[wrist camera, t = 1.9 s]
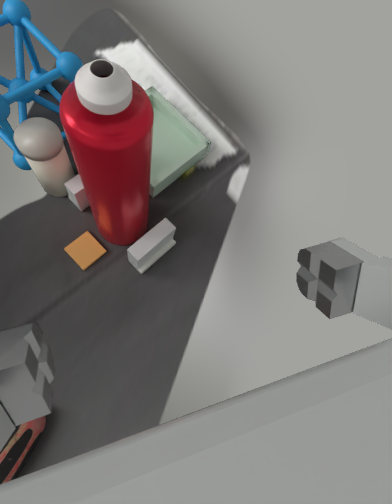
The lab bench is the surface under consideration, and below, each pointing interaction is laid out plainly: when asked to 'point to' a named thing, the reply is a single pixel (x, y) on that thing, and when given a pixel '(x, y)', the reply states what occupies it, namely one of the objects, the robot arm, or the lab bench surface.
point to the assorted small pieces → (162, 175)
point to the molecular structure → (39, 77)
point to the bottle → (111, 147)
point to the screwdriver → (19, 448)
